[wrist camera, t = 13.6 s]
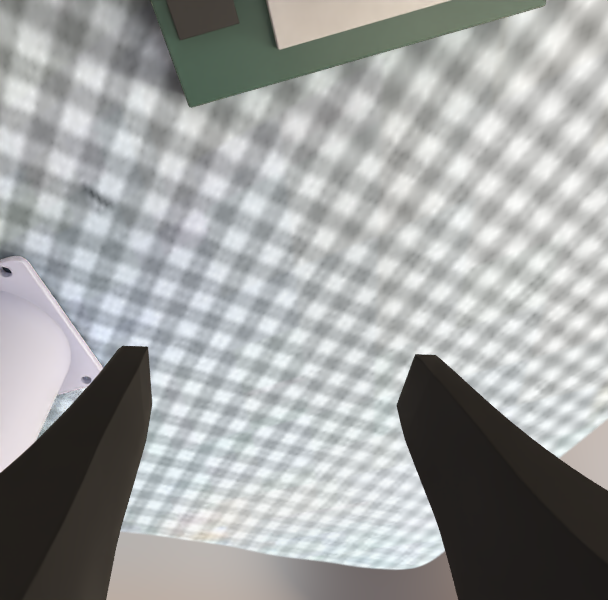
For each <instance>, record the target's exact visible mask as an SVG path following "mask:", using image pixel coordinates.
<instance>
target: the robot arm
mask: <svg viewBox="0 0 608 600" xmlns="http://www.w3.org/2000/svg"><path fill="white" fill-rule="evenodd" d="M2 267H6V268H8V269H9V270H11V273H8V272H5V271H4V270H3V268H2ZM85 376H87V377H89V379H88V378H85ZM85 387H87V388H86V389H85V390H84V391H83V393H82V394H81V395H80V396H79V397H78V398H77V399H76V400H75V401H74V403H73V404H72V405H71V406H70V407H69V408H68V409H67V410H66V411H65V412H64V413H63V414H62V415H61V416H60V417H59V418H58V419H57V420H56V421H55V422H54V423H53V424H52V425H51V426H50V427H49V428H48V429H47V430H46V431H45V432H44V433H43V434H42V435H41V436H40V437H39V438H38V439H37V437H38V435H39V433H40V431H41V429H42V426H43V424H44V422H45V420H46V418H47V415H48V413H49V411H50V409H51V407H52V405H53V402H54V400H55V398H56V396H57V395H60V394H63V393H67V392H70V391H74V390H78V389H81V388H85ZM151 408H152V394H151V381H150V368H149V354H148V347H142V346H122V347H121V348H119V349H118V350H117V351H116V353H115V354H114V355H113V357H112V358H111V359H110V360H109V362H108V363H107V364H106V366H105V367H104V368H103V367H102V365H101V364H100V362H99V361H98V359H97V358H96V357H95V355H94V354H93V352H92V351H91V350H90V348H89V347H88V345H87V344H86V342H85V341H84V340H83V338H82V337H81V335H80V334H79V332H78V331H77V330H76V328H75V327H74V325H73V324H72V322H71V321H70V320H69V318H68V317H67V315H66V314H65V312H64V311H63V310H62V308H61V307H60V305H59V304H58V303H57V301H56V300H55V298H54V297H53V295H52V294H51V293H50V291H49V290H48V288H47V287H46V285H45V284H44V283H43V281H42V280H41V278H40V277H39V275H38V274H37V273H36V271H35V270H34V268H33V267H32V266H31V264H30V263H29V262H28V261H27V260H26V259H25V258H23V257H20V256H11V257H7V258H4V259H0V600H106V597H107V591H108V586H109V581H110V576H111V571H112V566H113V561H114V556H115V550H116V546H117V542H118V538H119V534H120V530H121V526H122V522H123V519H124V515H125V512H126V509H127V505H128V502H129V498H130V495H131V491H132V488H133V485H134V481H135V478H136V474H137V471H138V467H139V464H140V460H141V457H142V453H143V450H144V446H145V443H146V438H147V432H148V427H149V421H150V414H151ZM397 409H398V413H399V418H400V422H401V426H402V430H403V434H404V438H405V441H406V444H407V446H408V449H409V452H410V454H411V457H412V459H413V462H414V465H415V467H416V470H417V472H418V475H419V477H420V480H421V482H422V485H423V488H424V490H425V493H426V495H427V498H428V500H429V503H430V505H431V508H432V511H433V513H434V516H435V519H436V522H437V525H438V527H439V530H440V534H441V537H442V541H443V544H444V548H445V551H446V555H447V558H448V562H449V565H450V569H451V573H452V577H453V581H454V585H455V589H456V593H457V596H458V600H608V491H607V490H606V489H604V488H602V487H601V486H599V485H597V484H596V483H594V482H593V481H591V480H590V479H588V478H586V477H585V476H583V475H582V474H581V473H579V472H578V471H576V470H574V469H573V468H571V467H570V466H569V465H567V464H566V463H564V462H563V461H561V460H560V459H559V458H557V457H556V456H555V455H553V454H552V453H550V452H549V451H548V450H546V449H545V448H544V447H542V446H541V445H540V444H538V443H537V442H536V441H534V440H533V439H532V438H531V437H529V436H528V435H527V434H526V433H524V432H523V431H522V430H521V429H519V428H518V427H517V426H516V425H514V424H513V423H512V422H511V421H510V420H508V419H507V418H506V417H505V416H504V415H502V414H501V413H500V412H499V411H498V410H497V409H496V408H494V407H493V406H492V405H491V404H490V403H489V402H488V401H486V400H485V399H484V398H483V397H482V396H481V395H480V394H479V393H478V392H476V391H475V390H474V389H473V388H472V387H471V386H470V385H469V384H468V383H467V382H465V381H464V380H463V379H462V378H461V377H460V376H459V375H458V374H457V373H456V372H454V371H453V370H452V369H451V368H450V367H449V366H448V365H447V364H446V363H444V362H443V361H442V360H441V359H440V358H439V357H437V356H436V355H420V354H415V357H414V359H413V362H412V365H411V367H410V370H409V373H408V376H407V378H406V381H405V384H404V387H403V389H402V392H401V395H400V397H399V400H398V403H397ZM36 439H37V440H36Z"/></svg>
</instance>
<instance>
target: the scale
mask: <svg viewBox="0 0 608 600" xmlns="http://www.w3.org/2000/svg"><path fill="white" fill-rule="evenodd" d="M150 1H151V4H152V6H153V9H154V12H155V15H156V17H157V20H158V23H159V26H160V28H161V31H162V34H163V37H164V39H165V42H166V45H167V48H168V50H169V53H170V56H171V59H172V61H173V64H174V67H175V70H176V72H177V75H178V78H179V81H180V83H181V86H182V89H183V92H184V94H185V97H186V100H187V103H188V105H189V107H191V108H192V107H195V106H199V105H202V104H206V103H209V102H213V101H216V100H220V99H223V98H227V97H230V96H234V95H237V94H241V93H244V92H248V91H251V90H255V89H258V88H261V87H265V86H268V85H272V84H275V83H279V82H282V81H286V80H289V79H293V78H296V77H300V76H303V75H307V74H310V73H314V72H317V71H321V70H324V69H328V68H331V67H335V66H338V65H342V64H345V63H348V62H352V61H355V60H359V59H362V58H366V57H369V56H373V55H376V54H380V53H383V52H387V51H390V50H394V49H397V48H401V47H404V46H408V45H411V44H415V43H418V42H422V41H425V40H429V39H432V38H435V37H439V36H442V35H446V34H449V33H453V32H456V31H460V30H463V29H467V28H470V27H474V26H477V25H481V24H484V23H488V22H491V21H495V20H498V19H502V18H505V17H509V16H512V15H515V14H519V13H522V12H526V11H529V10H533V9H536V8H540V7H543V6H545V4H546V0H150Z"/></svg>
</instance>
